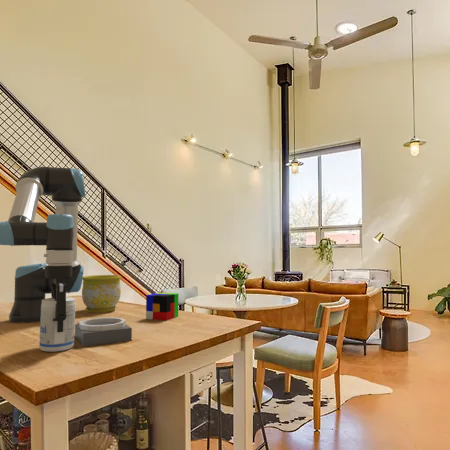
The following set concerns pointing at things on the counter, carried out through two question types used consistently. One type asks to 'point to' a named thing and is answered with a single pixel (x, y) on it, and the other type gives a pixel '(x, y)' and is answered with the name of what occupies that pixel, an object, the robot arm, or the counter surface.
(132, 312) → the counter surface
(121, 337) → the grey square ring block
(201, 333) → the counter surface
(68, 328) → the supplement tub
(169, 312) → the puzzle toy
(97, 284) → the flowerpot
